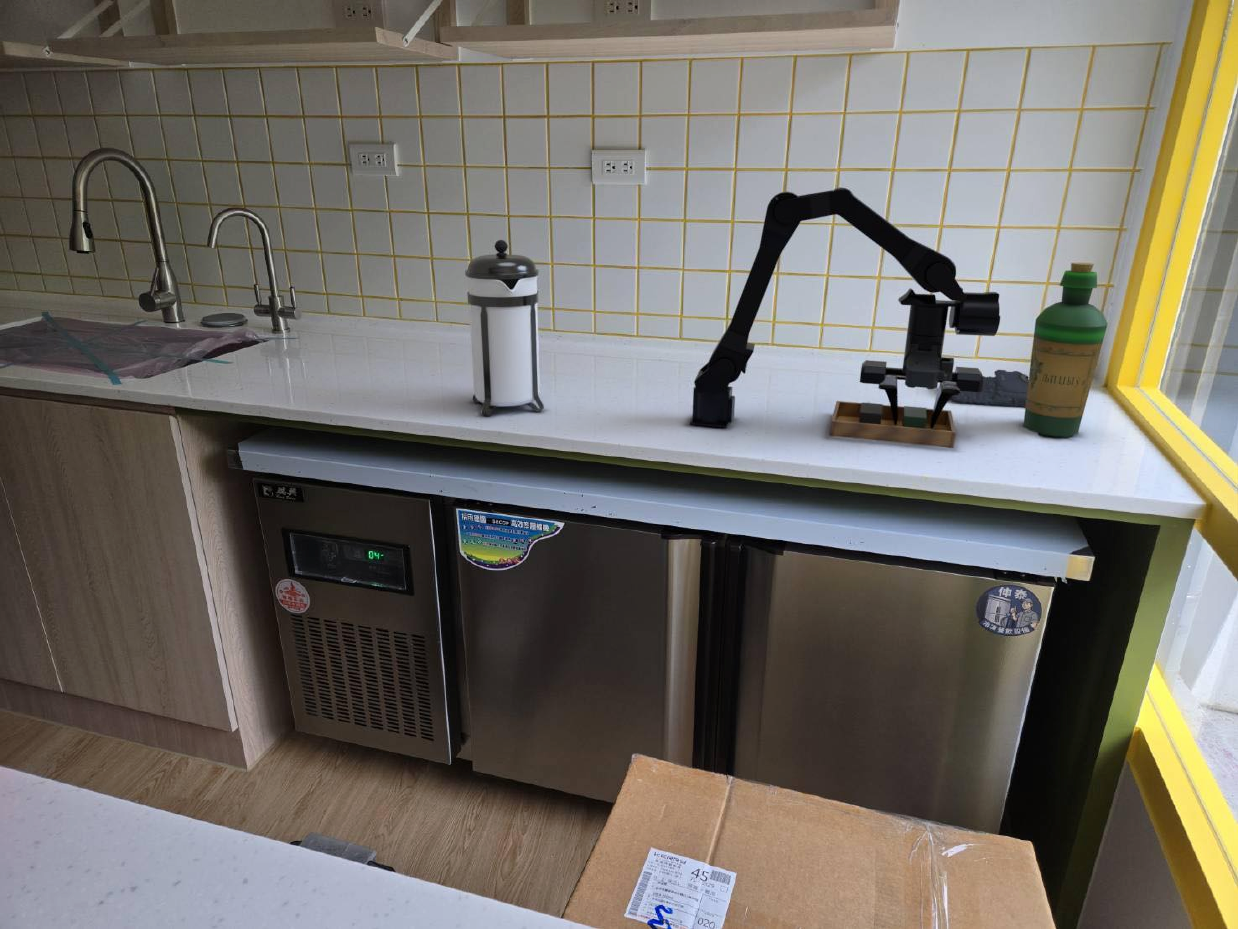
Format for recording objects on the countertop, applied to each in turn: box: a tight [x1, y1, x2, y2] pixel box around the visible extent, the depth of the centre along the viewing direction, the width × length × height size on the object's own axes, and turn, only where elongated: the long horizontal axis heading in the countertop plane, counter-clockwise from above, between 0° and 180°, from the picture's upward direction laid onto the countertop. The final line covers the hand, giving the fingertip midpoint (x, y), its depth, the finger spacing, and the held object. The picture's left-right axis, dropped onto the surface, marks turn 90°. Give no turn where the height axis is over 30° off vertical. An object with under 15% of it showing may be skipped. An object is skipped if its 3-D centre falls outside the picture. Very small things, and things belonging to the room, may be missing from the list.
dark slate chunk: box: [949, 369, 1029, 408], centre depth 161 cm, size 15×22×5 cm
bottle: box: [1022, 262, 1109, 438], centre depth 135 cm, size 11×11×28 cm
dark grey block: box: [859, 402, 884, 425], centre depth 139 cm, size 4×6×4 cm, turn 162°
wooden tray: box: [829, 400, 957, 449], centre depth 138 cm, size 19×13×3 cm
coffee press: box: [464, 239, 545, 417], centre depth 148 cm, size 17×16×30 cm
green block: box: [902, 405, 927, 429], centre depth 137 cm, size 4×6×4 cm, turn 162°
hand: (913, 425), depth 137 cm, fingers open, 5 cm apart
